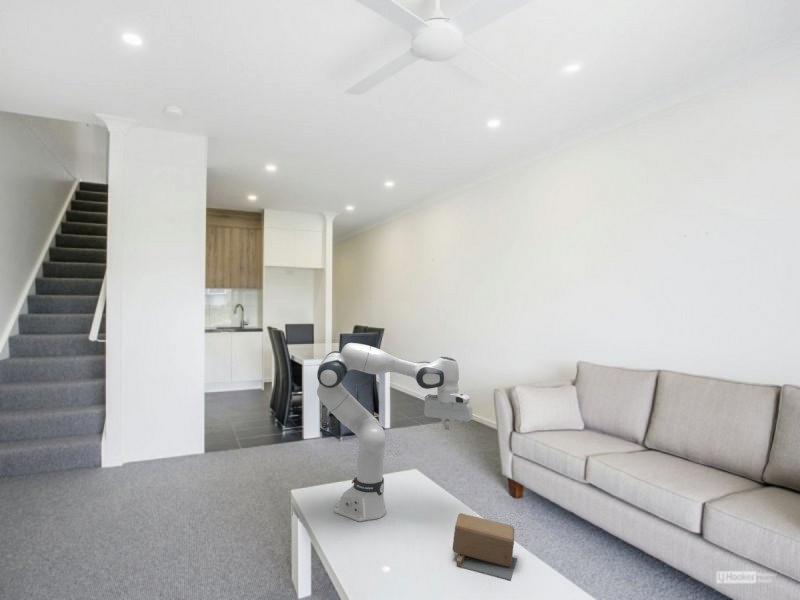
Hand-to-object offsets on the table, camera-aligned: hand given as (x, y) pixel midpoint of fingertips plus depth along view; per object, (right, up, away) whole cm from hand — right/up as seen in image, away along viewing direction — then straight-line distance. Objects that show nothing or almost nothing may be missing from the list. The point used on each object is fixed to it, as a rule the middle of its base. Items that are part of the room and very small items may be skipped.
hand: (447, 429), depth 178 cm
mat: (+10, -37, -31) cm, 49 cm away
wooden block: (0, -29, -25) cm, 38 cm away
